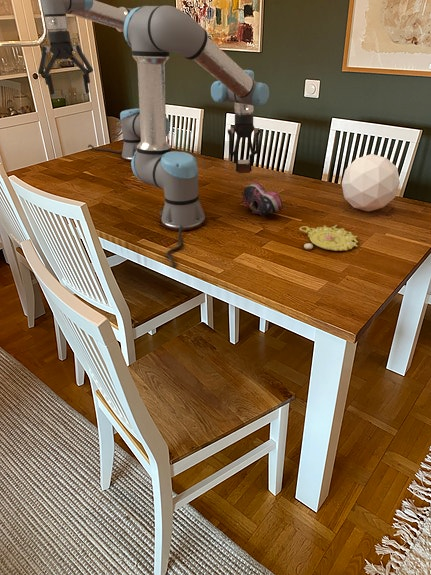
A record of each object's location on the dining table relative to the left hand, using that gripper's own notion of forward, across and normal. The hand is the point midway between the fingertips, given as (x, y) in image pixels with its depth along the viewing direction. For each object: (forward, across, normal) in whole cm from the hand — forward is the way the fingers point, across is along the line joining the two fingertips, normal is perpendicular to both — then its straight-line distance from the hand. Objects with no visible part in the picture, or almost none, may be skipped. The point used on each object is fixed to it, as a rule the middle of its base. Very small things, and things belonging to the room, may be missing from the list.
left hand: (70, 93), depth 172 cm
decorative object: (+37, +90, -62) cm, 115 cm away
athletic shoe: (+37, +70, -37) cm, 87 cm away
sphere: (+37, +110, -38) cm, 122 cm away
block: (+33, +68, -3) cm, 75 cm away
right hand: (+32, +68, -3) cm, 75 cm away
